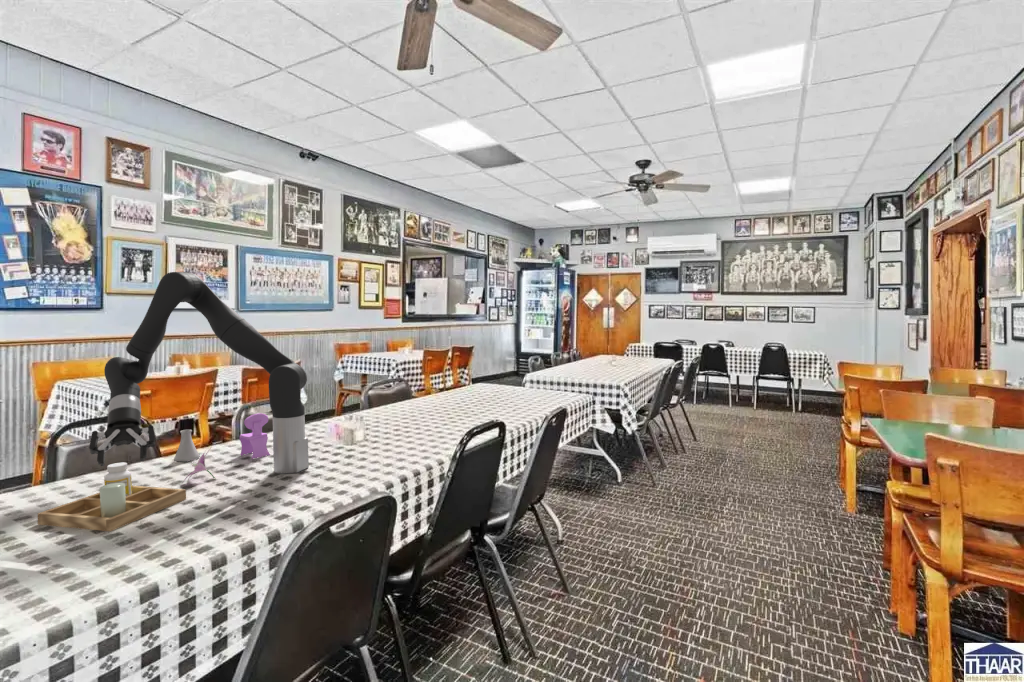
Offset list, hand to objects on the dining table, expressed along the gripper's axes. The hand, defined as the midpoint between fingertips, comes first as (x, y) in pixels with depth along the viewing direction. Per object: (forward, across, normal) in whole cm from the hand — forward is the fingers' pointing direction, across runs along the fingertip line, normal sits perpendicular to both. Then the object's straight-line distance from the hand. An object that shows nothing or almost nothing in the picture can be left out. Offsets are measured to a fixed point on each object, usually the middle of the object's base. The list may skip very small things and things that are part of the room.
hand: (122, 462), depth 135 cm
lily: (+6, +17, +7) cm, 20 cm away
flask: (-15, +15, +28) cm, 35 cm away
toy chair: (-10, +35, +23) cm, 43 cm away
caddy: (+18, 0, -6) cm, 19 cm away
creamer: (+23, 0, -11) cm, 25 cm away
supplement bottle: (+13, 0, -2) cm, 13 cm away
